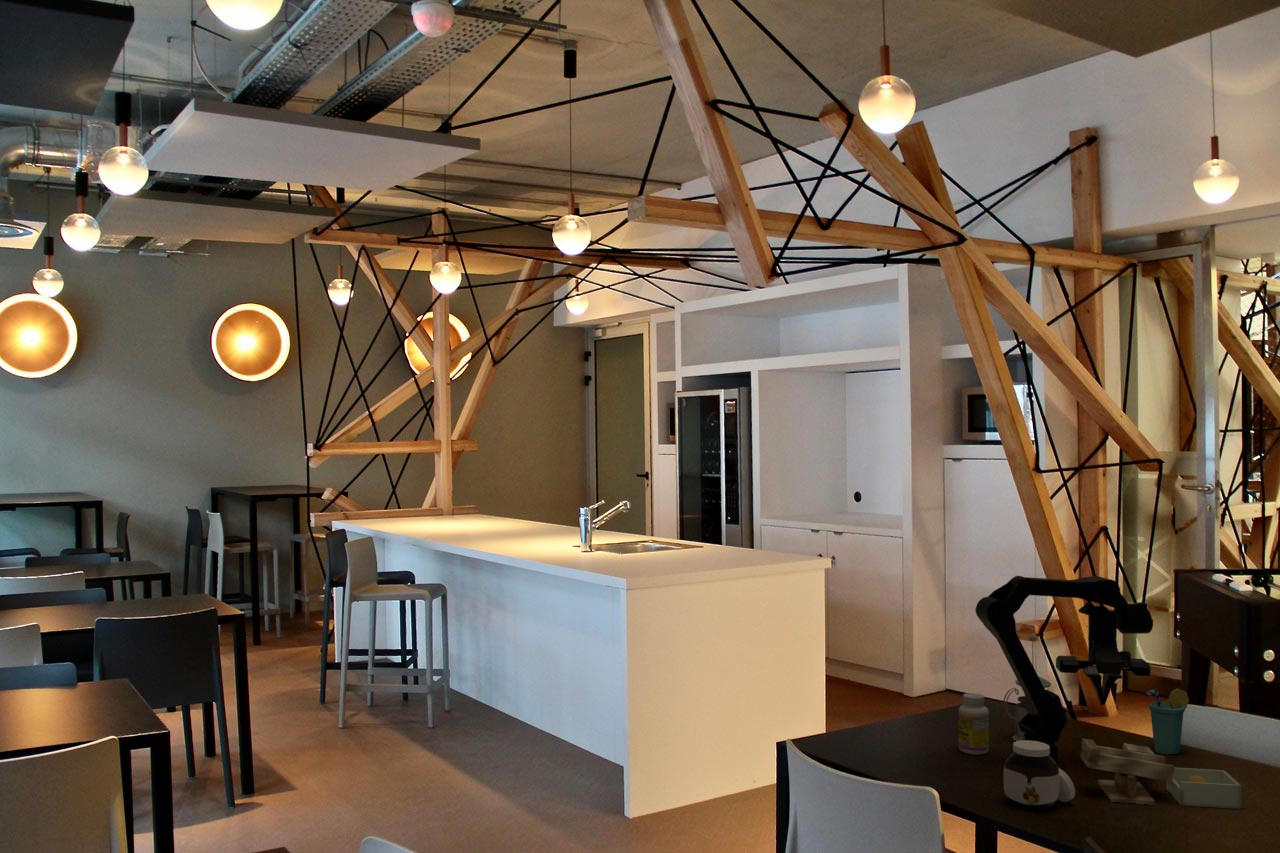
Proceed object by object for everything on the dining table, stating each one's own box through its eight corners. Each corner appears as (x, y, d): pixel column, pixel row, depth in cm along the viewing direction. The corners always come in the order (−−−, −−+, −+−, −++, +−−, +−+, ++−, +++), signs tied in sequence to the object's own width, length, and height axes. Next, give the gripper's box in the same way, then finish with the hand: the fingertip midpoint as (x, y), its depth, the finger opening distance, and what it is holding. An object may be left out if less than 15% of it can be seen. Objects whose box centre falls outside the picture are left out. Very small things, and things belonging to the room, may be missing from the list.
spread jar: (998, 803, 214) (998, 744, 215) (1020, 789, 223) (1020, 732, 223) (1060, 817, 207) (1060, 756, 207) (1080, 802, 215) (1080, 743, 216)
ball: (1206, 776, 216) (1215, 795, 215) (1199, 769, 220) (1208, 788, 219) (1186, 783, 216) (1195, 802, 216) (1180, 776, 220) (1189, 795, 220)
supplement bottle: (954, 747, 253) (954, 692, 253) (981, 746, 254) (981, 691, 254) (965, 755, 246) (965, 699, 247) (993, 755, 247) (993, 698, 247)
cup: (1162, 761, 243) (1162, 693, 243) (1130, 752, 249) (1130, 687, 249) (1198, 751, 250) (1198, 686, 250) (1167, 743, 257) (1166, 679, 257)
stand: (1111, 802, 215) (1111, 777, 215) (1098, 783, 227) (1098, 759, 227) (1154, 805, 214) (1154, 779, 214) (1139, 785, 225) (1139, 761, 225)
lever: (1087, 767, 218) (1089, 747, 218) (1070, 744, 235) (1072, 725, 235) (1172, 781, 215) (1174, 761, 215) (1149, 756, 232) (1151, 738, 232)
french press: (1061, 746, 254) (1061, 639, 254) (1011, 746, 254) (1011, 639, 254) (1046, 734, 264) (1046, 631, 264) (998, 734, 264) (998, 631, 264)
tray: (1180, 805, 214) (1180, 782, 214) (1166, 788, 223) (1166, 767, 224) (1241, 809, 212) (1241, 785, 212) (1224, 792, 221) (1224, 770, 221)
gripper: (1064, 639, 235) (1064, 711, 235) (1157, 642, 231) (1157, 715, 231) (1055, 630, 246) (1055, 699, 246) (1143, 633, 242) (1143, 703, 242)
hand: (1102, 704), depth 241 cm, fingers closed
